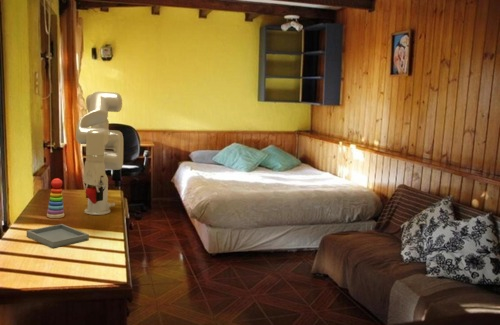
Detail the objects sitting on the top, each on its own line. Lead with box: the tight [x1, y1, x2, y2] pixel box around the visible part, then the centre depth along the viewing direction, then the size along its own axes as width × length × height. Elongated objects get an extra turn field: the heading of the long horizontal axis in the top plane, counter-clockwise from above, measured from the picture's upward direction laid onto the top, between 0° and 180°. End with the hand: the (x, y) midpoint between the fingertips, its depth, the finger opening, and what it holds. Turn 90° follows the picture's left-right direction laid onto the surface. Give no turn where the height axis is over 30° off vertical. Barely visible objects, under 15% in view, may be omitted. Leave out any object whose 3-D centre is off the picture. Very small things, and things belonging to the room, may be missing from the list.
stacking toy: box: [46, 177, 65, 219], centre depth 228 cm, size 8×8×19 cm
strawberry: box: [85, 185, 100, 204], centre depth 208 cm, size 6×8×10 cm
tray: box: [26, 223, 90, 249], centre depth 198 cm, size 16×20×2 cm
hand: (94, 198), depth 208 cm, fingers closed on strawberry, 6 cm apart
